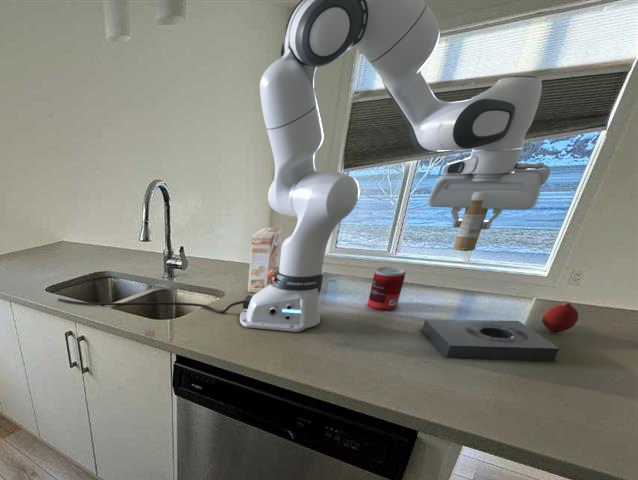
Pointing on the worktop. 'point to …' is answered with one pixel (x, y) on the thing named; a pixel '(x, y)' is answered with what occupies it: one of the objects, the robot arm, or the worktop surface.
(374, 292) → the canned food
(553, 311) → the onion
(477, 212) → the sprinkles bottle
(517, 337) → the dark grey slab holder
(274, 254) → the coffeecake box
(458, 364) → the worktop surface
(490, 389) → the worktop surface
